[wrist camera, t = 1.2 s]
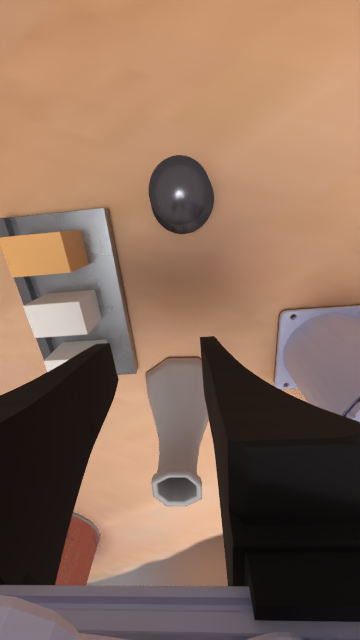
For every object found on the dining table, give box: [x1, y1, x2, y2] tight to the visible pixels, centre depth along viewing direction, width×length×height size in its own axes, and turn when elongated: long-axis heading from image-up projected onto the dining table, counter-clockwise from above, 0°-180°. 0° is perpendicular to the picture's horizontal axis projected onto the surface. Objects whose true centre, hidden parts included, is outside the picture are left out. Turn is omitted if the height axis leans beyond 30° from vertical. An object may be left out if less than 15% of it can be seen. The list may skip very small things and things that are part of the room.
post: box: [149, 155, 214, 234], centre depth 14 cm, size 4×4×6 cm
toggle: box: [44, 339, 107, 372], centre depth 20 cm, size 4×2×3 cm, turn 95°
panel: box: [0, 208, 138, 375], centre depth 20 cm, size 8×14×2 cm, turn 5°
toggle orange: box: [0, 230, 89, 277], centre depth 16 cm, size 4×2×3 cm, turn 95°
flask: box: [145, 358, 209, 506], centre depth 19 cm, size 7×7×10 cm
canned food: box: [55, 513, 100, 586], centre depth 29 cm, size 11×11×12 cm
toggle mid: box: [23, 290, 102, 338], centre depth 18 cm, size 4×2×3 cm, turn 95°
